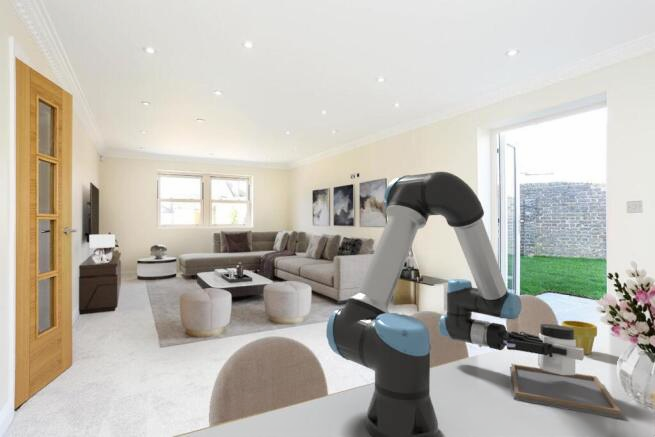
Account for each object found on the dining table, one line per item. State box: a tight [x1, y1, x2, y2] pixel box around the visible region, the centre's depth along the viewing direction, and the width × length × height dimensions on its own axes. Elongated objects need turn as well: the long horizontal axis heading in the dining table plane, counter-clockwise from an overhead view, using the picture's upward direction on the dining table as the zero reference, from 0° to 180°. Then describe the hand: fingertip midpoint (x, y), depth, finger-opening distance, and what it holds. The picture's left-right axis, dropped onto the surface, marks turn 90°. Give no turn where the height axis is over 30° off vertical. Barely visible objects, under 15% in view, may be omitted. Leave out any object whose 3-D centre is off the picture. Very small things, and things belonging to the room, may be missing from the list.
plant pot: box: [561, 320, 598, 355], centre depth 129 cm, size 10×10×10 cm
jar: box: [537, 323, 577, 375], centre depth 102 cm, size 9×8×12 cm
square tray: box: [509, 363, 624, 420], centre depth 98 cm, size 22×22×2 cm
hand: (582, 354), depth 94 cm, fingers closed on jar
